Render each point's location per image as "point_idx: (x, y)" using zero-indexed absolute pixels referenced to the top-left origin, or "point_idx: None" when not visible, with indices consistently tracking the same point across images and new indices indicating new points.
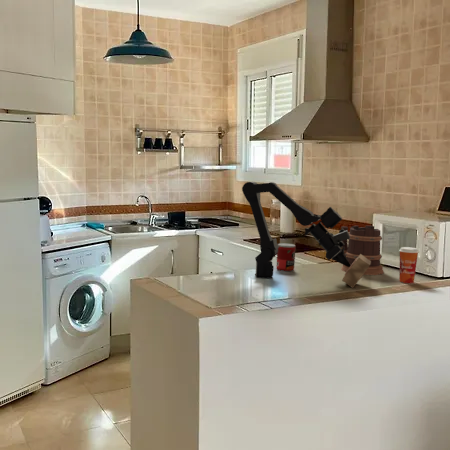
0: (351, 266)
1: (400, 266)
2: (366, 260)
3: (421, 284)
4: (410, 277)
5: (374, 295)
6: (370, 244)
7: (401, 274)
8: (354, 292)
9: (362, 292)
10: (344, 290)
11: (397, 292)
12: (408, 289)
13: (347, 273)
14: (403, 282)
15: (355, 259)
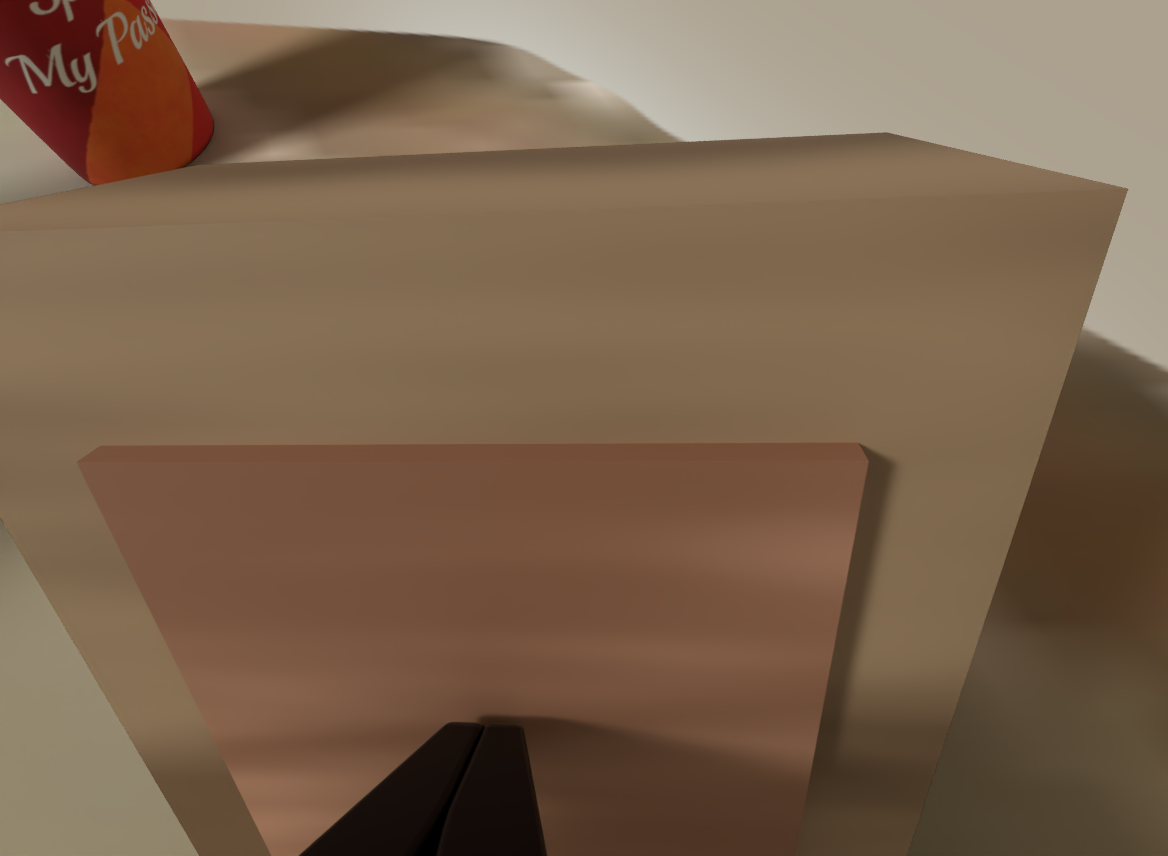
0: (819, 679)
1: (11, 13)
2: (520, 163)
3: (247, 58)
4: (182, 60)
5: (1119, 367)
6: None
7: (113, 99)
8: (1159, 644)
9: (1047, 521)
10: (1138, 849)
11: None
12: (523, 117)
13: (915, 820)
14: (192, 158)
15: (193, 514)
